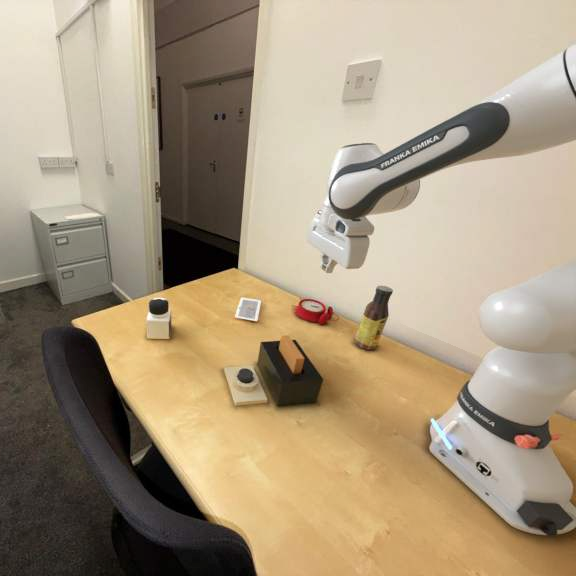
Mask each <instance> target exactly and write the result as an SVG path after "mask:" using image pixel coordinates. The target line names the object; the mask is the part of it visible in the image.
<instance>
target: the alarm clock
mask: <svg viewBox="0 0 576 576" xmlns="http://www.w3.org/2000/svg"><path fill="white" fill-rule="evenodd" d="M292 307H293V308H295V309H294V311H295V314H296V316H297V317H298V318H300V319H302V320H304V321H307V322H311V323H318V324H320V325H326V324H327V323H328V322H333V320H331V318H332V316H333V315H334V316H336V317H337V319H336V320H334V322H337V321H338V320H339V318H340V317H339V315H338V314H335V312H334V309H333V307H332V306H328V307H327V308H326V305H325V304H324V303H323V302H321V301H319V300H316V299H312V298H304V299H302V298H300V297H299V302H298V305H291V308H292Z"/></svg>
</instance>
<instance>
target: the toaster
mask: <svg viewBox="0 0 576 576" xmlns="http://www.w3.org/2000/svg"><path fill="white" fill-rule="evenodd" d="M291 340H292V341H293V342H294V344H295V345H296V347H297V348H298V350H299V351H300V353H301V354H302V355H303V357H304V362H303V366H302V370H301V374H293V375H292V373H291V371H290V370H289V368H288V366H287V365H286V363H285V361H284V360H283V358H282V356H281V355H280V353H279V351H278V350H279V345H280V340H272V341H271V340H270V341H269V340H268V341H260V345H259V350H258V351H259V352H258V357H257V362H256V363H257V364H256V365H257V367H258V369H259V371H260V373H261V376H262V378H263V380H264V382H265V384H266V386H267V388H268V390H269V392H270V395H271V397H272V400H273V401H274V403H275V405H276V407H277V408H280V407H291V406H302V405H312V404H317V402H318V399H319V395H320V392H321V388H322V386H323V381H324V377H322V375H321V373H319V371H318V369H317V368H316V366H315V365H314V363H313V362H312V361H311V359H310V358H309V356H308V355H307V354H306V353H305V351H304V350H303V348H302V347H301V346H300V344H299V342H298V341H297V339H291Z"/></svg>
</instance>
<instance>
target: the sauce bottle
mask: <svg viewBox="0 0 576 576" xmlns="http://www.w3.org/2000/svg"><path fill="white" fill-rule="evenodd" d="M393 293H394V290H393V288H391V287H389V286H386V285H377V286H376V288H375V293H374V297H373V299H372V301H370V302H369V303H368V304H366V306H365V308H364V312H363V314H362V316H361V320H360V323H359V325H358V328H357V331H356V335H355V339H354V343H355V344H356V346H357V347H358V348H361V349H363V350H367V351H371V350H375V349H376V348H377V346H378V345H379V343H380V340H381V337H382V334H383V331H384V329H385V326H386V323H387V321H388V319H389V301H390V299H391V296H392V295H393Z"/></svg>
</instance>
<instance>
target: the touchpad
mask: <svg viewBox="0 0 576 576" xmlns="http://www.w3.org/2000/svg"><path fill="white" fill-rule="evenodd" d="M261 303H262V300H261V299H254V298H248V297H242V296H241V297H240V299H239V302H238V305H237V308H236V312H235V315H234V318H237V319H242V320H247V321H254V322H258V319H259V314H260V309H261Z"/></svg>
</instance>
